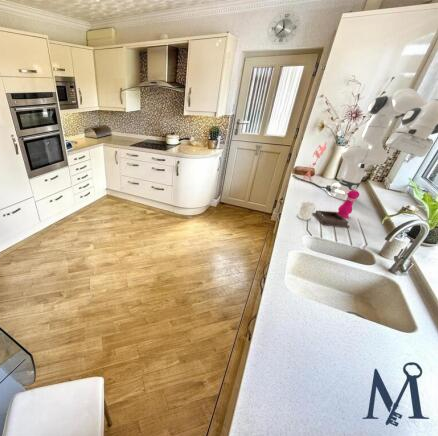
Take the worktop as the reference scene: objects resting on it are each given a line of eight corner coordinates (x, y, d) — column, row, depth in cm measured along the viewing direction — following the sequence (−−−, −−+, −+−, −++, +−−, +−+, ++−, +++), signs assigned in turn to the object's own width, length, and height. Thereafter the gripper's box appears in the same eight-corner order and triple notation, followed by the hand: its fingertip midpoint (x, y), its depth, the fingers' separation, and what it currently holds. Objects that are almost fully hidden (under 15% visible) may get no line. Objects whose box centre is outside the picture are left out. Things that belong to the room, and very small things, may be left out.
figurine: (301, 182, 214) (317, 143, 197) (302, 174, 233) (317, 138, 216) (321, 185, 207) (339, 146, 190) (320, 177, 227) (337, 140, 209)
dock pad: (311, 213, 160) (313, 209, 158) (334, 215, 159) (337, 211, 157) (323, 225, 147) (325, 220, 145) (348, 227, 146) (351, 222, 144)
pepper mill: (350, 218, 156) (366, 191, 146) (338, 217, 157) (353, 190, 147) (345, 213, 162) (359, 187, 152) (333, 212, 163) (347, 185, 153)
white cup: (309, 216, 157) (315, 203, 152) (310, 221, 150) (317, 208, 145) (296, 213, 159) (301, 200, 154) (297, 218, 153) (302, 205, 148)
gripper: (428, 139, 123) (408, 164, 129) (394, 127, 122) (375, 153, 128) (441, 141, 117) (419, 167, 123) (405, 128, 116) (385, 155, 122)
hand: (397, 159), depth 125 cm, fingers open, 8 cm apart
